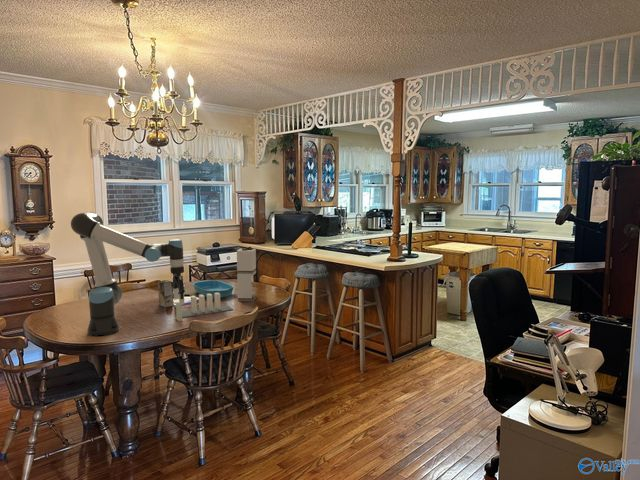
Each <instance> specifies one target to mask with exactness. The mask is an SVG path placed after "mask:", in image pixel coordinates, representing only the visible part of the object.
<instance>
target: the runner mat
mask: <svg viewBox="0 0 640 480" xmlns="http://www.w3.org/2000/svg"><path fill="white" fill-rule="evenodd" d="M233 310H234V309H233V308H232V307H231V306H229V305H227V304H224V305H222V304H221V309H220V310H217V309H215V306H213V311H209V310H208V309H207V307H205V312H201V311H199V308H197V313H194V314H193V313H192V312H191V309H189V310H182V319H183V318H190V317H197V316H203V315H209V314H215V313H216V314H217V313H222V312H229V311H233Z"/></svg>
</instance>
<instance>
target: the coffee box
mask: <svg viewBox="0 0 640 480" xmlns="http://www.w3.org/2000/svg"><path fill="white" fill-rule="evenodd" d="M172 285H173V281H170V280H167V279H165V280H159V281H157V291H158V305H159V306H160V307H164V308H169V307H173V305H175V303H174V301H175V300H174V288H173V286H172Z"/></svg>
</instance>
